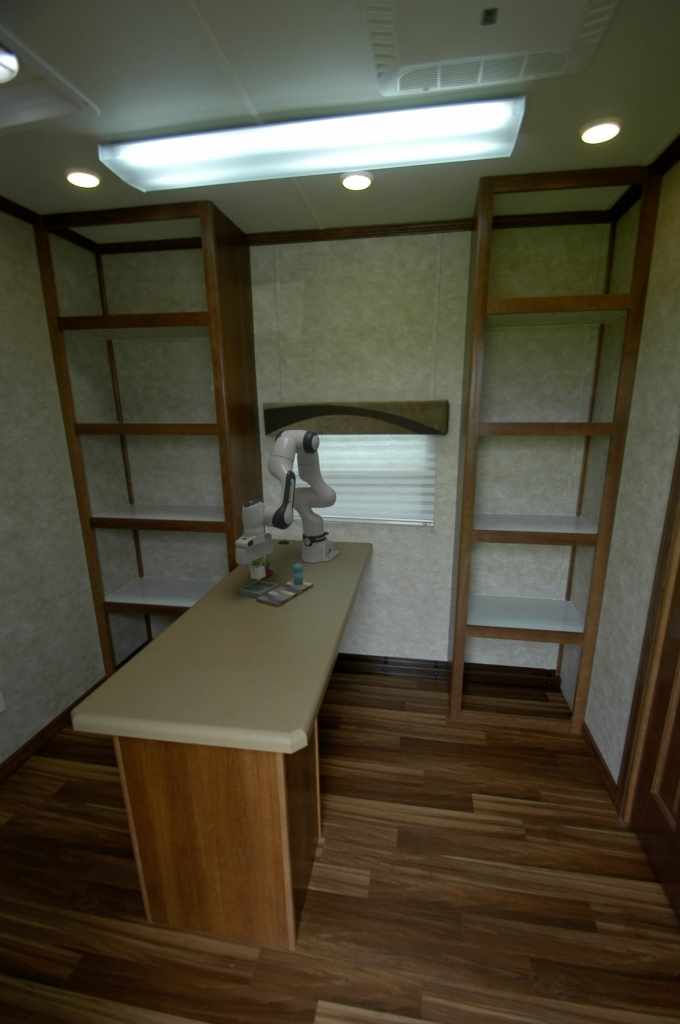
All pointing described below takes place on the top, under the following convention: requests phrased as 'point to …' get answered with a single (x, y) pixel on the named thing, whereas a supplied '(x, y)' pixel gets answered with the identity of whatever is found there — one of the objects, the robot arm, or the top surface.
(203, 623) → the top surface
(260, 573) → the die
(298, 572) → the pawn
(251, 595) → the tray
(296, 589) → the board
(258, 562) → the stacking bear
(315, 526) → the robot arm
